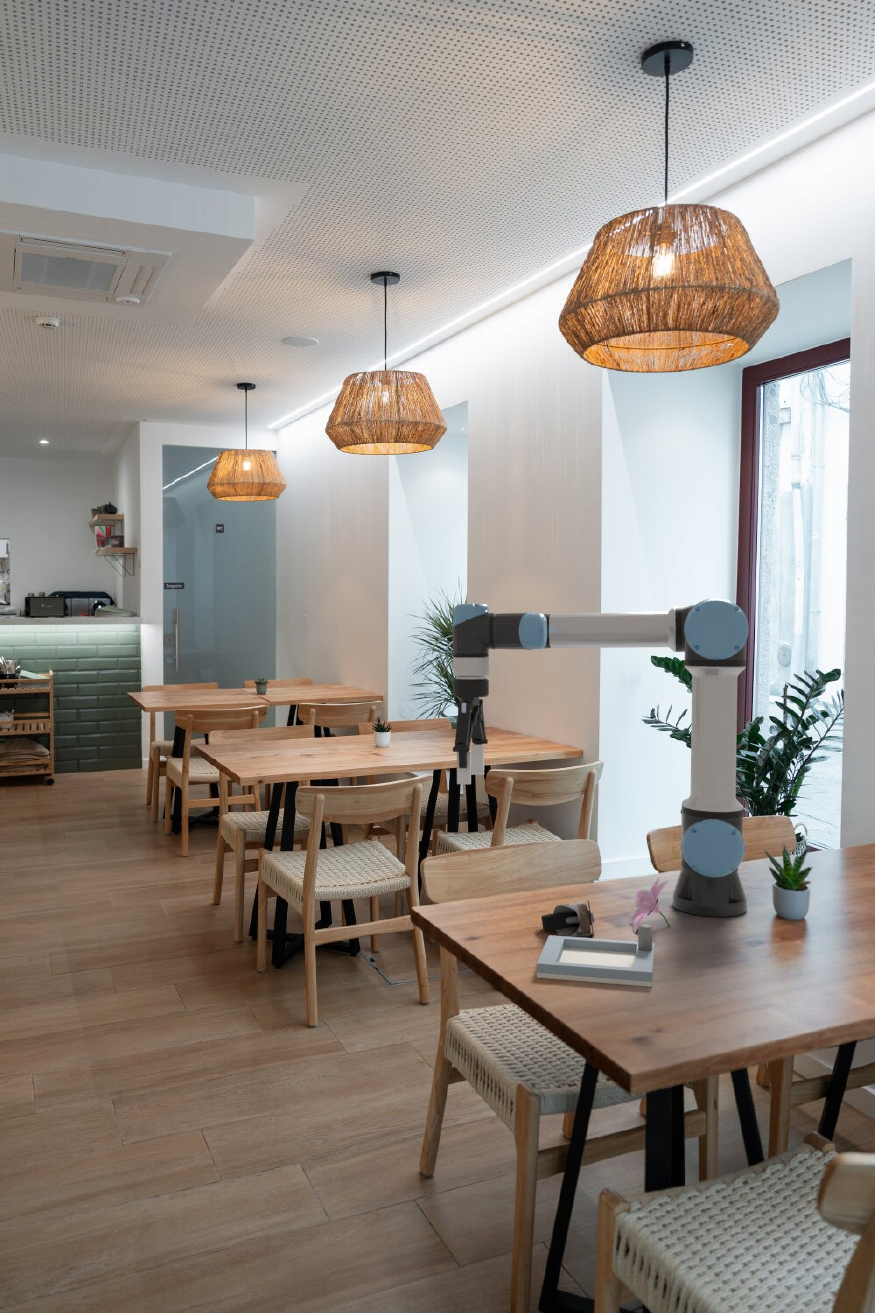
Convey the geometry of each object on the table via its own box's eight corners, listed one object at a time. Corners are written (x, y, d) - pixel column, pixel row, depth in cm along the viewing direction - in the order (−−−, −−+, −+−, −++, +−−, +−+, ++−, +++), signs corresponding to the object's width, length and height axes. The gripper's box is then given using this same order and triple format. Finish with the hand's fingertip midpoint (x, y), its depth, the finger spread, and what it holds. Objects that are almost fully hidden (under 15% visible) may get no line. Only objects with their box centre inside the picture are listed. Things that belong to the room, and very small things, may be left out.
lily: (640, 919, 204) (619, 881, 202) (693, 904, 199) (672, 864, 197) (632, 954, 193) (609, 914, 192) (688, 939, 188) (665, 897, 186)
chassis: (654, 956, 177) (654, 920, 177) (652, 987, 162) (652, 948, 162) (548, 948, 182) (549, 913, 182) (536, 977, 166) (536, 939, 166)
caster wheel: (545, 938, 196) (595, 931, 196) (544, 943, 185) (597, 937, 185) (539, 904, 198) (589, 897, 197) (539, 907, 187) (591, 900, 186)
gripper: (466, 675, 219) (466, 770, 220) (438, 680, 195) (439, 787, 195) (499, 675, 217) (499, 771, 218) (476, 680, 193) (476, 788, 194)
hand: (470, 779), depth 207 cm, fingers open, 13 cm apart
